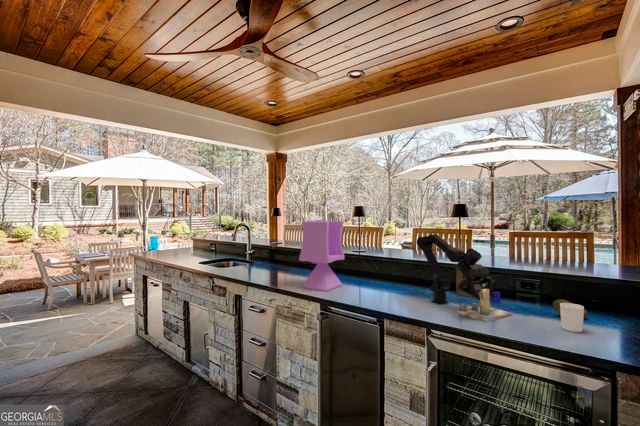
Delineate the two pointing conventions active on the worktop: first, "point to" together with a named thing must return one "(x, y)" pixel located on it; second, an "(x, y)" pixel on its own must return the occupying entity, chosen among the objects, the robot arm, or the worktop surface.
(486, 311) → the tall brass spacer
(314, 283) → the purple pedestal chair
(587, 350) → the worktop surface
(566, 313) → the white cup
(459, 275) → the wooden container
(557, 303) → the potato
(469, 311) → the board
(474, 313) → the grey flat square plate
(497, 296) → the cable clip
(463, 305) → the short steel spacers
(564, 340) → the worktop surface
